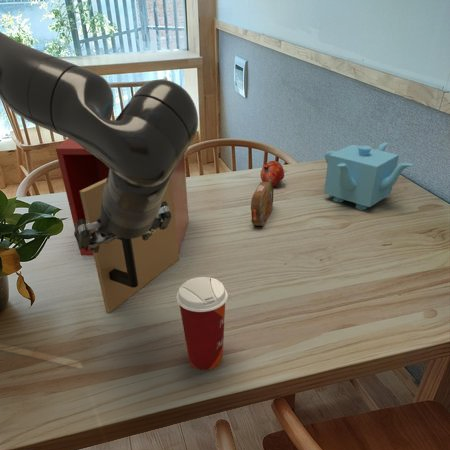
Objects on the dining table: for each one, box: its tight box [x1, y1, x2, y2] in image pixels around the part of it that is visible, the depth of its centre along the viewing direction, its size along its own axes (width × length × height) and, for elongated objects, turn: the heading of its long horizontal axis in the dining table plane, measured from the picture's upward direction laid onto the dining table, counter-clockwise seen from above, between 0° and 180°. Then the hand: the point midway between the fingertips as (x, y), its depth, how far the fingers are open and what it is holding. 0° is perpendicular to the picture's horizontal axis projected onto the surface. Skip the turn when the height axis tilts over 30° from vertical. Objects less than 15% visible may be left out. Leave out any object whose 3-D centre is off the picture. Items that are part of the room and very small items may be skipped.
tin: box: [250, 181, 274, 227], centre depth 114 cm, size 15×3×8 cm, turn 163°
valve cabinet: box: [55, 138, 190, 257], centre depth 102 cm, size 18×22×24 cm
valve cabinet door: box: [80, 178, 180, 314], centre depth 84 cm, size 7×22×24 cm, turn 149°
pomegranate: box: [259, 160, 285, 188], centre depth 133 cm, size 7×7×10 cm
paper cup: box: [175, 276, 229, 371], centre depth 70 cm, size 8×8×14 cm
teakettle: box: [323, 141, 414, 211], centre depth 120 cm, size 19×19×15 cm
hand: (119, 241), depth 75 cm, fingers open, 8 cm apart
